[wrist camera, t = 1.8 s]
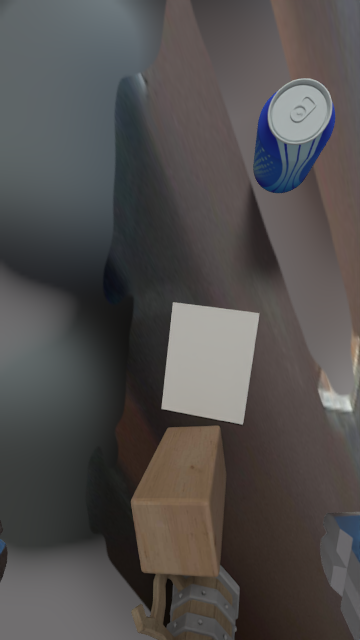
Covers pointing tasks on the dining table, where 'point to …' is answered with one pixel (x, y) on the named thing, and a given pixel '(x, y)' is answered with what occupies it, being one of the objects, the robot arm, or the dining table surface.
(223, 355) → the mat
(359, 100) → the dining table surface
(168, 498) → the wooden block
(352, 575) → the robot arm
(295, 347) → the dining table surface
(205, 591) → the tankard
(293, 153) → the beer can
